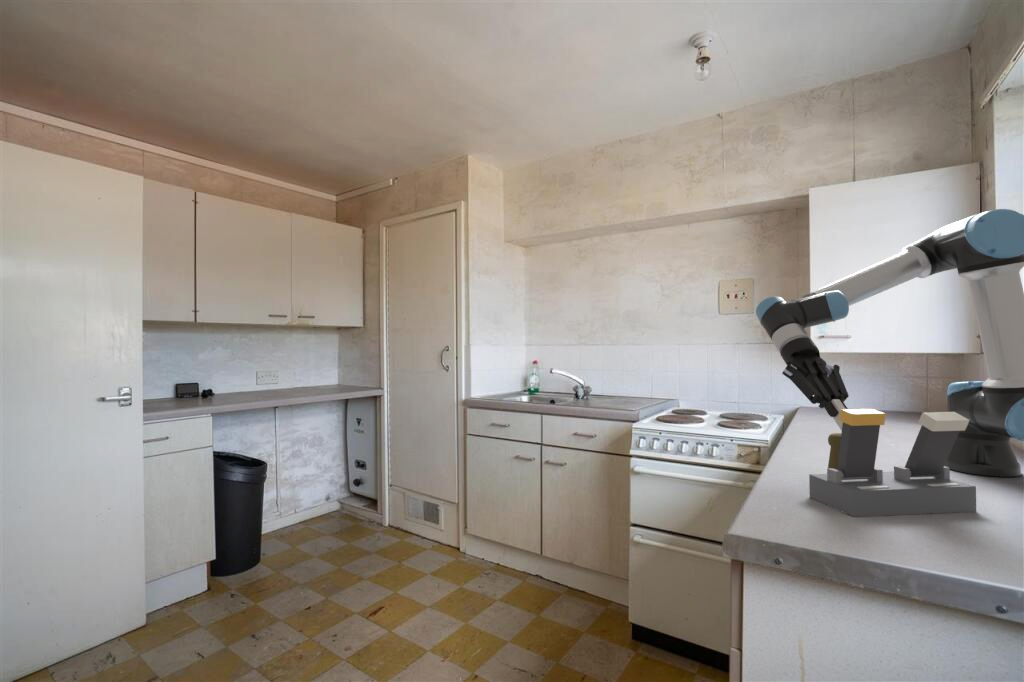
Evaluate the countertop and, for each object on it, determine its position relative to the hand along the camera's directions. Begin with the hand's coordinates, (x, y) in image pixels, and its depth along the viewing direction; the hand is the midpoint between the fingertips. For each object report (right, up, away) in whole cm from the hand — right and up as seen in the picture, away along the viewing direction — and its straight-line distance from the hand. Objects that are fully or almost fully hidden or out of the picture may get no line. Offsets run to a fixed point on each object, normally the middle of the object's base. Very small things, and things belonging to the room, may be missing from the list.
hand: (849, 428), depth 99 cm
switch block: (+8, -16, 0) cm, 18 cm away
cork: (+12, -16, +19) cm, 28 cm away
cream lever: (+16, -10, +1) cm, 18 cm away
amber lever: (+1, -10, 0) cm, 10 cm away
